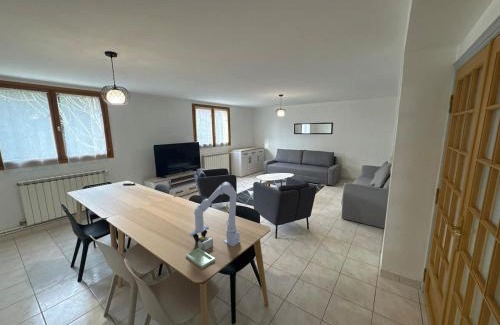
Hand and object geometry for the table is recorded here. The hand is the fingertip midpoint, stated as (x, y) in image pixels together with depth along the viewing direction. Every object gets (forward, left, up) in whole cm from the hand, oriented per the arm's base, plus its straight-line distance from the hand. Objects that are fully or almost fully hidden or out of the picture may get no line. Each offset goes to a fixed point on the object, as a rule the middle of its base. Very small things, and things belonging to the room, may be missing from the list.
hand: (200, 241), depth 142 cm
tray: (-15, +10, -1) cm, 18 cm away
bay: (-7, 0, -1) cm, 7 cm away
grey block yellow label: (-2, 0, -1) cm, 2 cm away
